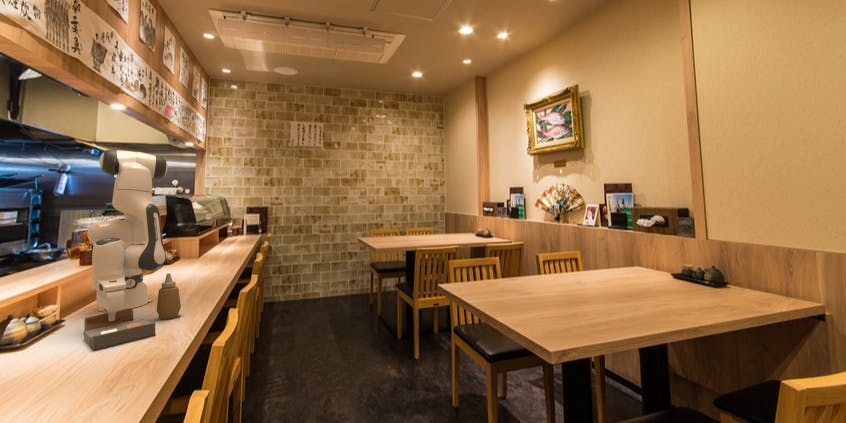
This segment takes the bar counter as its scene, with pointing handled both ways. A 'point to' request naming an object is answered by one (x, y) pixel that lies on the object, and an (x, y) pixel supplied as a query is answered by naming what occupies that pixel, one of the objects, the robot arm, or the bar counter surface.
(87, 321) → the long wooden plank
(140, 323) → the tile terracotta
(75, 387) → the bar counter surface
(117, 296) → the robot arm
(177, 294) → the squeeze bottle
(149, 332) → the grey tray with lip
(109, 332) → the tile cream
